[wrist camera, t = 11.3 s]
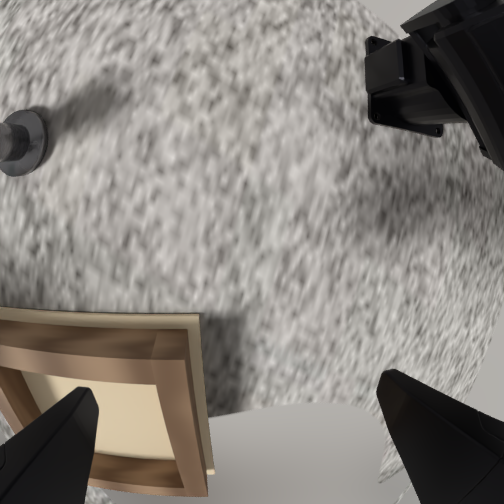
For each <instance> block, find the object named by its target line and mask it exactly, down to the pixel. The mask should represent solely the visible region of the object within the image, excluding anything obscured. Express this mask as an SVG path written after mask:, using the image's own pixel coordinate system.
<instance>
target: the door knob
mask: <svg viewBox="0 0 504 504" xmlns="http://www.w3.org/2000/svg"><path fill="white" fill-rule="evenodd" d="M47 142H48V132H47V127H46V124H45V122H44V120H43V118H42V117H41V116H40V115H39V114H37V113H35V112H32V111H27V110H19V111H16V112H14V113H12V114H11V115H10V116H8V117H7V118H6V120H5V121H4V122H3V123H0V169H1V170H2V171H3V172H4V173H5V174H6V175H8V176H13V177H15V176H22V175H26V174H29V173H30V172H32V171H33V170H34V169H36V167H37V166H38V165H39V164H40V162H41V161H42V159H43V157H44V154H45V152H46V148H47Z"/></svg>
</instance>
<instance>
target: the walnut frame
mask: <svg viewBox="0 0 504 504" xmlns="http://www.w3.org/2000/svg"><path fill="white" fill-rule="evenodd" d="M21 370H22V371H28V372H33V373H39V374H45V375H51V376H58V377H65V378H72V379H81V380H90V381H100V382H111V383H125V384H144V385H156V388H157V393H158V397H159V401H160V406H161V410H162V414H163V418H164V422H165V425H166V429H167V433H168V436H169V440H170V444H171V447H172V450H173V454H174V457H175V460H156V459H142V458H131V457H122V456H114V455H107V454H100V453H94V456H93V461H92V466H91V471H90V475H89V480H88V485H89V486H94V487H99V488H104V489H110V490H117V491H124V492H131V493H140V494H150V495H165V496H187V497H188V496H189V497H208V487H207V469H206V464H205V458H204V453H203V447H202V441H201V434H200V428H199V421H198V414H197V407H196V400H195V393H194V385H193V377H192V368H191V359H190V350H189V340H188V329H130V328H101V327H81V326H65V325H52V324H40V323H30V322H20V321H11V320H2V319H0V410H1V412H2V414H3V415H4V417H5V419H6V420H7V422H8V424H9V425H10V427H11V428H12V430H13V431H14V433H15V434H17V433H18V432H19V431H21V430H22V429H23V428H25V427H26V426H27V425H28V424H30V423H31V422H32V421H34V420H35V419H36V418H37V417H39V416H40V415H41V414H42V413H41V411H40V410H39V408H38V406H37V404H36V402H35V400H34V398H33V396H32V394H31V392H30V390H29V388H28V386H27V383H26V381H25V379H24V377H23V375H22V372H21Z"/></svg>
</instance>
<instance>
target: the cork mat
mask: <svg viewBox="0 0 504 504" xmlns="http://www.w3.org/2000/svg"><path fill="white" fill-rule="evenodd" d="M0 319H2V320H11V321H20V322H30V323H40V324H52V325H65V326H81V327H101V328H130V329H188V340H189V350H190V359H191V368H192V377H193V385H194V393H195V400H196V407H197V414H198V421H199V428H200V434H201V441H202V447H203V453H204V458H205V464H206V469H207V474H215V469H214V463H213V455H212V447H211V440H210V431H209V423H208V414H207V404H206V395H205V384H204V374H203V362H202V350H201V336H200V322H199V314H113V313H84V312H63V311H46V310H32V309H19V308H8V307H0ZM21 372H22V375H23V377H24V379H25V381H26V383H27V386H28V388H29V390H30V392H31V394H32V396H33V398H34V400H35V402H36V404H37V406H38V408H39V410H40V411H41V413H42V414H43V413H44V412H45V411H47V410H48V409H49V408H50V407H52V406H53V405H54V404H56V403H57V402H58V401H59V400H61V399H62V398H63V397H65V396H66V395H67V394H68V393H70V392H71V391H72V390H74V389H75V388H76V387H78V386H82V387H89V388H90V389H91V390H92V392H93V394H94V397H95V399H96V401H97V404H98V406H99V417H98V425H97V433H96V442H95V451H94V453H100V454H107V455H114V456H122V457H131V458H142V459H156V460H175V457H174V454H173V450H172V447H171V444H170V440H169V436H168V433H167V429H166V425H165V422H164V418H163V414H162V410H161V406H160V401H159V397H158V393H157V388H156V385H144V384H125V383H111V382H100V381H90V380H81V379H72V378H65V377H58V376H51V375H45V374H39V373H33V372H28V371H22V370H21Z"/></svg>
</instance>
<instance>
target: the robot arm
mask: <svg viewBox="0 0 504 504" xmlns="http://www.w3.org/2000/svg"><path fill="white" fill-rule="evenodd" d="M400 26H401V28H402V29H403V30H404V31H405V32H406V33H409V34H410V36H409V37H407V38H404V39H402V40H400V39H397V40H395V41H393V42H390V41H387V40H384V39H381V38H378V37H374V36H370V37H368V38H367V39H366V41H365V46H366V57H365V80H366V91H367V93H368V119H369V121H370V122H371V123H372V124H375V125H381V126H386V127H391V128H396V129H401V130H405V131H410V132H414V133H419V134H423V135H427V136H431V137H435V138H438V137H441V136H442V134H443V124H446V123H467V122H468V123H469V125H470V127H471V129H472V131H473V133H474V135H475V137H476V139H477V141H478V143H479V145H480V146H479V148H480V150H481V153H482V155H483V156H485V157H487V158H489V159H491V160H492V161H493V163H494V164H495V165H496V166H498V167H499V168H500V169H502V170H503V171H504V0H437V1H435V2H434V3H432V4H430V5H429V6H427V7H426V8H425V9H423V10H422V11H420V12H419V13H418V14H416V15H414V16H413V17H411V18H410V19H409V20H407V21H406V22H405V23H403V24H402V25H400ZM371 41H372V42H374V44H375V45H373V44H372V43H371ZM374 114H376V115H377V117H378V119H377V120H376V119H375V118H374ZM436 129H437V133H436ZM376 394H377V398H378V401H379V404H380V406H381V409H382V412H383V415H384V418H385V422H386V425H387V428H388V430H389V433H390V435H391V438H392V440H393V442H394V444H395V446H396V448H397V451H398V453H399V455H400V457H401V459H402V462H403V464H404V466H405V468H406V470H407V473H408V475H409V478H410V480H411V482H412V484H413V487H414V489H415V491H416V494H417V496H418V498H419V500H420V503H421V504H504V422H502V421H500V420H498V419H495V418H493V417H491V416H489V415H486V414H484V413H482V412H480V411H477V410H476V409H474V408H472V407H470V406H468V405H465V404H464V403H462V402H459V401H457V400H455V399H453V398H451V397H449V396H447V395H445V394H443V393H441V392H439V391H437V390H435V389H433V388H431V387H429V386H427V385H426V384H424V383H422V382H420V381H418V380H416V379H414V378H412V377H410V376H408V375H406V374H404V373H402V372H400V371H398V370H396V369H390V370H385V371H383V373H382V374H381V377H380V380H379V384H378V387H377V391H376ZM98 417H99V406H98V404H97V401H96V399H95V397H94V394H93V392H92V390H91V389H90V388H89V387H82V386H78V387H76V388H75V389H74V390H72V391H71V392H70V393H68V394H67V395H66V396H65V397H63V398H62V399H61V400H59V401H58V402H57V403H56V404H54V405H53V406H52V407H50V408H49V409H48V410H47V411H45V412H44V413H43V414H41V415H40V416H39V417H37V418H36V419H35V420H34V421H32V422H31V423H30V424H28V425H27V426H26V427H25V428H23V429H22V430H21V431H19V432H18V433H17V434H16V435H14V436H13V437H12V438H10V439H9V440H8V441H6V442H5V444H2V445H1V446H0V504H84V502H85V497H86V491H87V486H88V480H89V475H90V471H91V466H92V461H93V456H94V451H95V442H96V433H97V425H98Z"/></svg>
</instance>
